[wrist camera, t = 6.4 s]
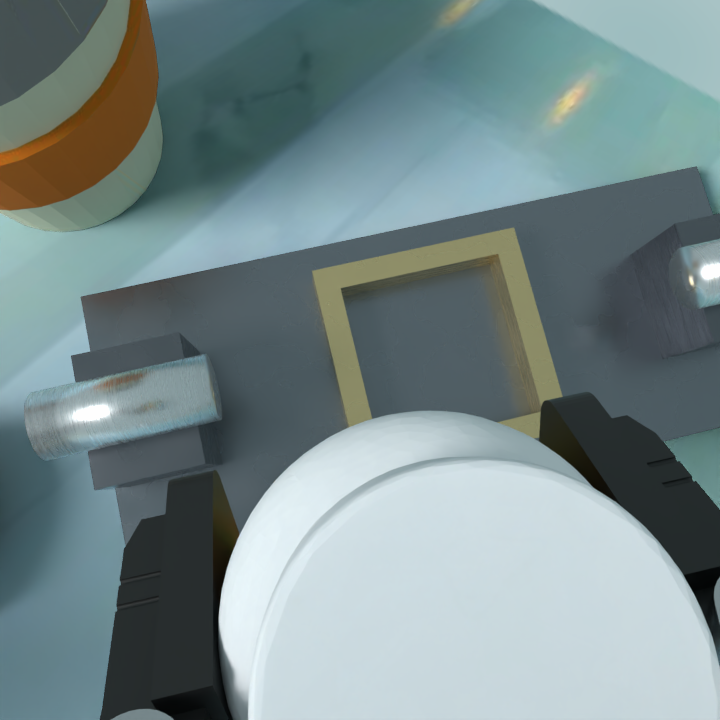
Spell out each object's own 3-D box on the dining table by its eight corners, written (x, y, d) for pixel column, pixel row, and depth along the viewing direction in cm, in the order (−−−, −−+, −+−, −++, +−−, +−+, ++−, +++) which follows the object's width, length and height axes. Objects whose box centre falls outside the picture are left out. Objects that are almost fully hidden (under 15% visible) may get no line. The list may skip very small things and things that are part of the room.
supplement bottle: (382, 389, 16) (466, 249, 6) (553, 551, 15) (941, 681, 6) (218, 562, 15) (9, 722, 5) (394, 739, 14) (524, 1277, 5)
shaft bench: (125, 574, 28) (55, 611, 21) (77, 304, 30) (-4, 251, 22) (774, 411, 31) (915, 393, 23) (694, 173, 32) (802, 87, 25)
